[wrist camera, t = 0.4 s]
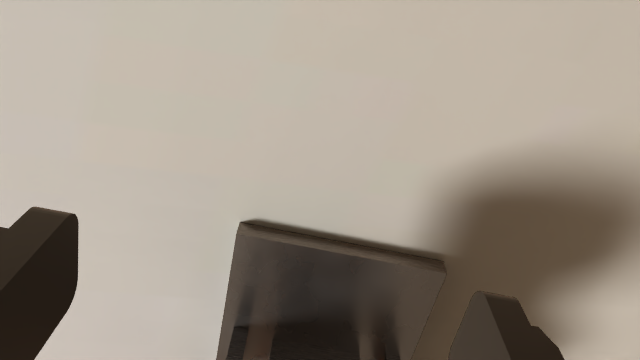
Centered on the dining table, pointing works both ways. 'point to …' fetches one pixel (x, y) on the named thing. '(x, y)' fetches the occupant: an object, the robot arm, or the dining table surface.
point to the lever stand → (323, 299)
